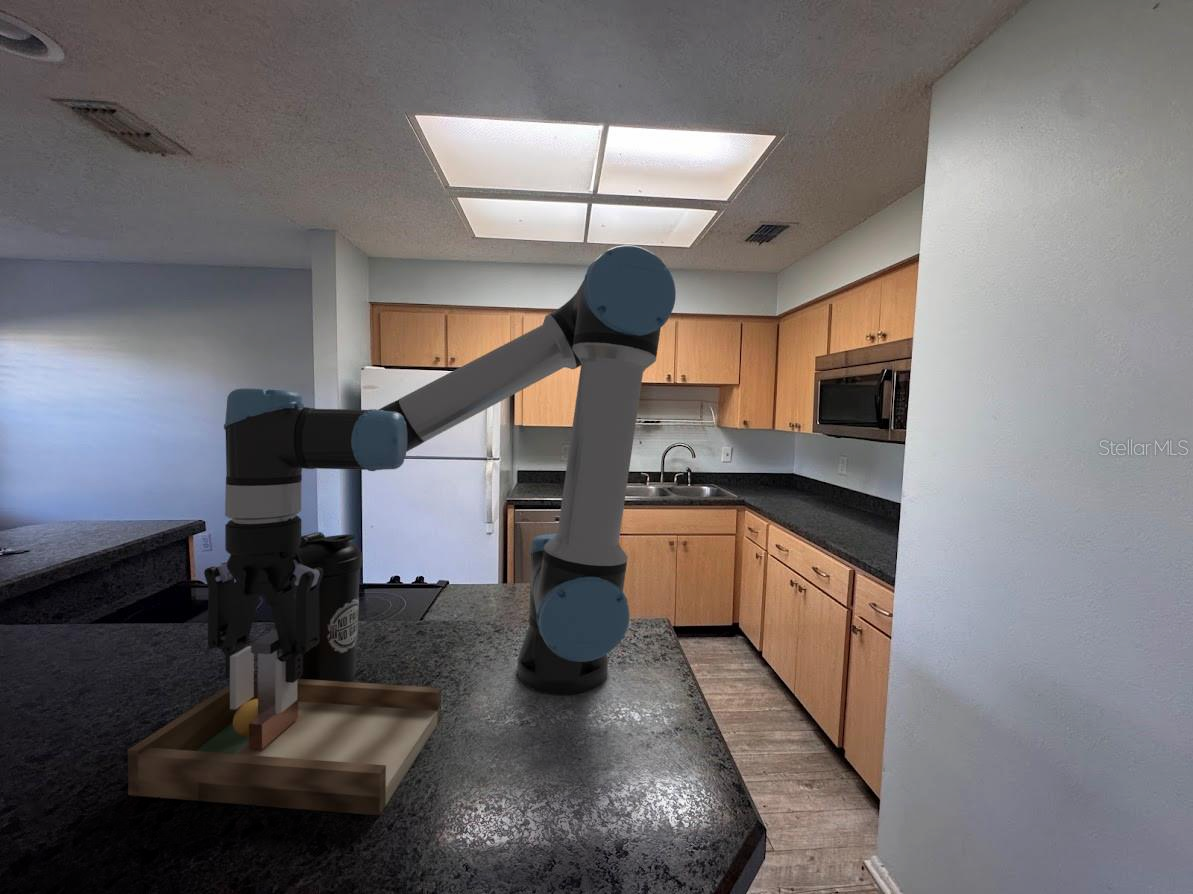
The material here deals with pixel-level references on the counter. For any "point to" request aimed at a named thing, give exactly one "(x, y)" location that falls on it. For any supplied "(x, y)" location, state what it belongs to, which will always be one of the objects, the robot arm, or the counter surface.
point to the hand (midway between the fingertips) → (264, 703)
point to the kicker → (268, 695)
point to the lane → (293, 750)
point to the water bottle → (333, 606)
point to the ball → (245, 717)
